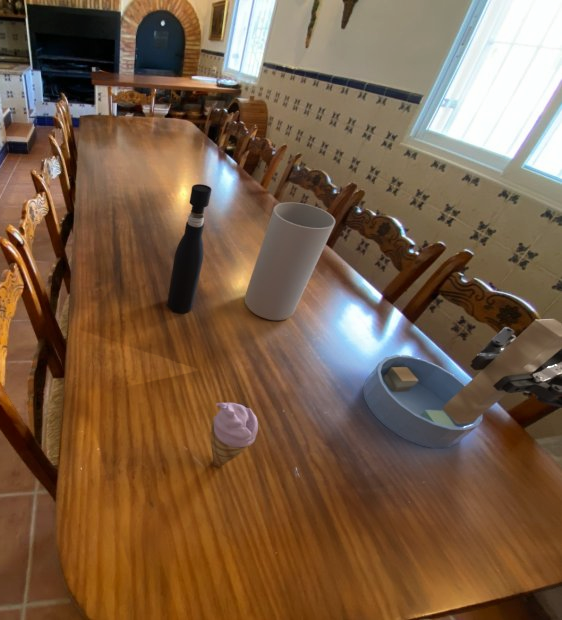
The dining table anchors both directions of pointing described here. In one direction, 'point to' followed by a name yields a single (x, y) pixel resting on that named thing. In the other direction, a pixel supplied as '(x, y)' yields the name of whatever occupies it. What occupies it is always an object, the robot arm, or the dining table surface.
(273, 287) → the cylinder vase
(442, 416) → the sage block
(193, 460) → the dining table surface
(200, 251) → the black bottle
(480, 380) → the brown wooden bar
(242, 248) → the dining table surface
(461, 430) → the bowl
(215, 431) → the ice cream cone
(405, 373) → the maple block
